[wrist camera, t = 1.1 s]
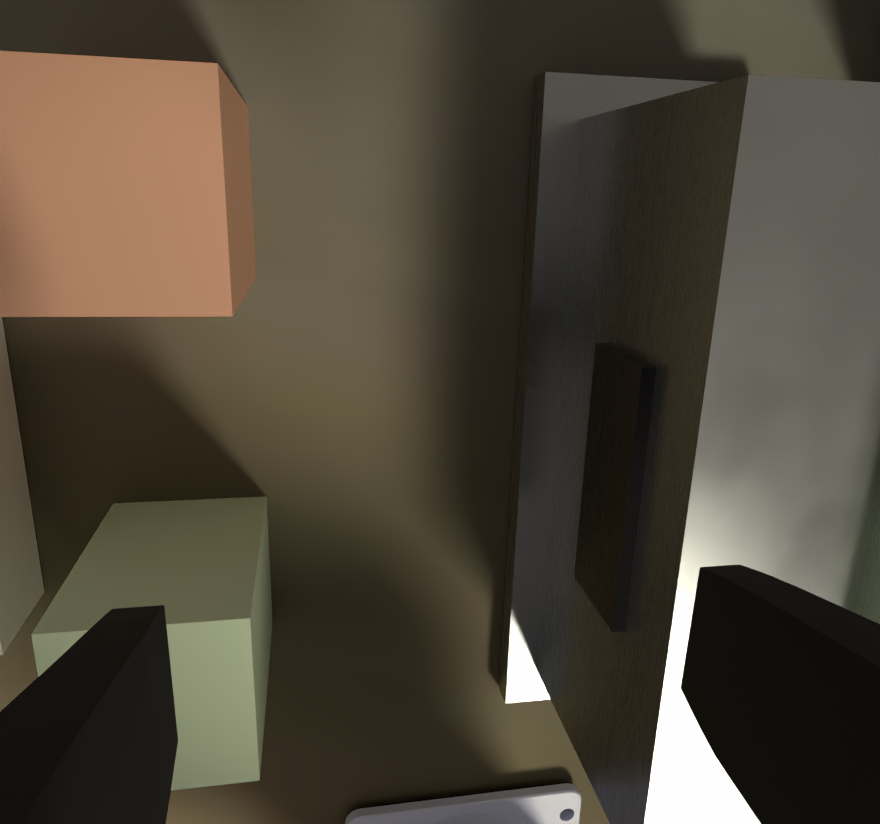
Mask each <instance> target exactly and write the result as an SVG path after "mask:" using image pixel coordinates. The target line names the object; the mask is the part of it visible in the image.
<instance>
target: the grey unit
mask: <svg viewBox="0 0 880 824" xmlns="http://www.w3.org/2000/svg"><path fill="white" fill-rule="evenodd" d="M738 564H739V565H743V566H746V567H749V568H752V569H755V570H757V571H760V572H763V573H765V574H768V575H770V576H773V577H775V578H778V579H780V580H782V581H785V582H787V583H789V584H792V585H794V586H796V587H799V588H801V589H803V590H805V591H808V592H810V593H812V594H814V595H817V596H819V597H821V598H823V599H825V600H828V601H830V602H832V603H834V604H836V605H839V606H841V607H843V608H845V609H847V610H850V611H852V612H854V613H856V614H858V615H861V616H863V617H865V618H867V619H869V620H872V621H874V622H876V623H878V624H880V82H866V81H850V80H834V79H818V78H802V77H786V76H770V75H755V74H747V75H744V76H740V77H736V78H732V79H729V80H725V81H721V82H708V81H691V80H675V79H658V78H641V77H625V76H608V75H592V74H575V73H558V72H544V73H542V74H540V75H538V76H536V77H535V93H534V110H533V127H532V143H531V160H530V177H529V193H528V210H527V227H526V244H525V260H524V277H523V294H522V310H521V327H520V344H519V360H518V377H517V394H516V410H515V427H514V444H513V461H512V477H511V494H510V511H509V527H508V544H507V561H506V577H505V594H504V611H503V627H502V644H501V661H500V678H499V688H500V691H501V693H502V696H503V698H504V701H505V703H515V702H525V701H535V700H545V699H551V701H552V703H553V705H554V707H555V709H556V711H557V713H558V716H559V718H560V720H561V722H562V724H563V726H564V728H565V730H566V732H567V734H568V736H569V739H570V741H571V743H572V745H573V747H574V749H575V751H576V753H577V755H578V757H579V759H580V762H581V764H582V766H583V768H584V770H585V772H586V774H587V776H588V778H589V780H590V782H591V785H592V787H593V789H594V791H595V793H596V795H597V797H598V799H599V801H600V803H601V805H602V807H603V810H604V812H605V814H606V816H607V818H608V820H609V822H610V824H761V823H760V821H759V820H758V819H757V817H756V816H755V814H754V813H753V811H752V810H751V808H750V807H749V805H748V804H747V803H746V801H745V800H744V798H743V797H742V795H741V794H740V792H739V791H738V789H737V788H736V786H735V785H734V783H733V782H732V780H731V779H730V777H729V776H728V775H727V773H726V772H725V770H724V769H723V767H722V765H721V764H720V762H719V761H718V759H717V758H716V756H715V755H714V753H713V751H712V749H711V747H710V745H709V744H708V742H707V740H706V738H705V736H704V734H703V732H702V731H701V729H700V727H699V725H698V723H697V721H696V719H695V717H694V715H693V713H692V711H691V709H690V707H689V705H688V703H687V701H686V698H685V696H684V694H683V692H682V690H681V682H682V676H683V670H684V663H685V657H686V651H687V645H688V638H689V632H690V626H691V620H692V613H693V607H694V601H695V595H696V588H697V582H698V576H699V570H700V567H710V566H724V565H738Z"/></svg>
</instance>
